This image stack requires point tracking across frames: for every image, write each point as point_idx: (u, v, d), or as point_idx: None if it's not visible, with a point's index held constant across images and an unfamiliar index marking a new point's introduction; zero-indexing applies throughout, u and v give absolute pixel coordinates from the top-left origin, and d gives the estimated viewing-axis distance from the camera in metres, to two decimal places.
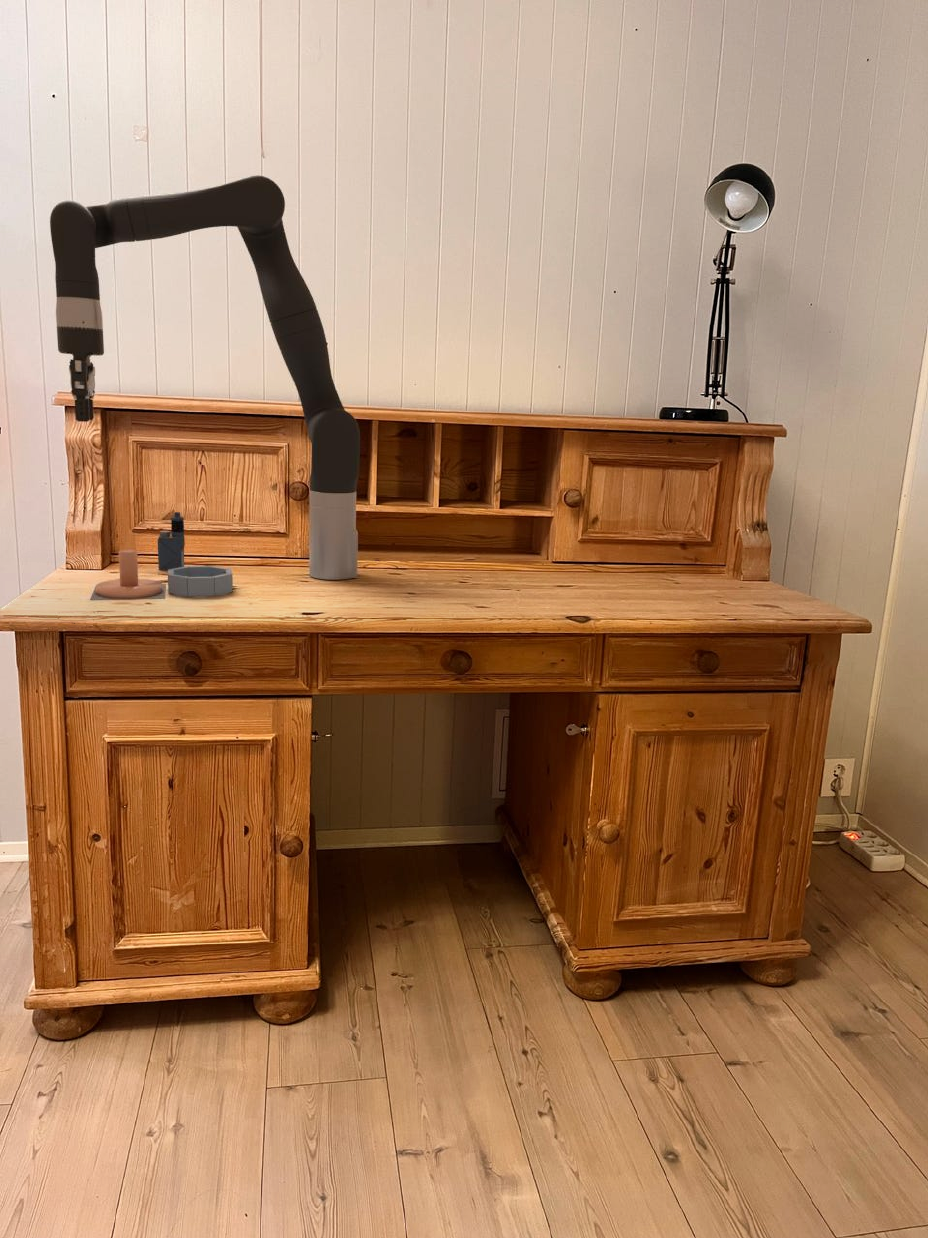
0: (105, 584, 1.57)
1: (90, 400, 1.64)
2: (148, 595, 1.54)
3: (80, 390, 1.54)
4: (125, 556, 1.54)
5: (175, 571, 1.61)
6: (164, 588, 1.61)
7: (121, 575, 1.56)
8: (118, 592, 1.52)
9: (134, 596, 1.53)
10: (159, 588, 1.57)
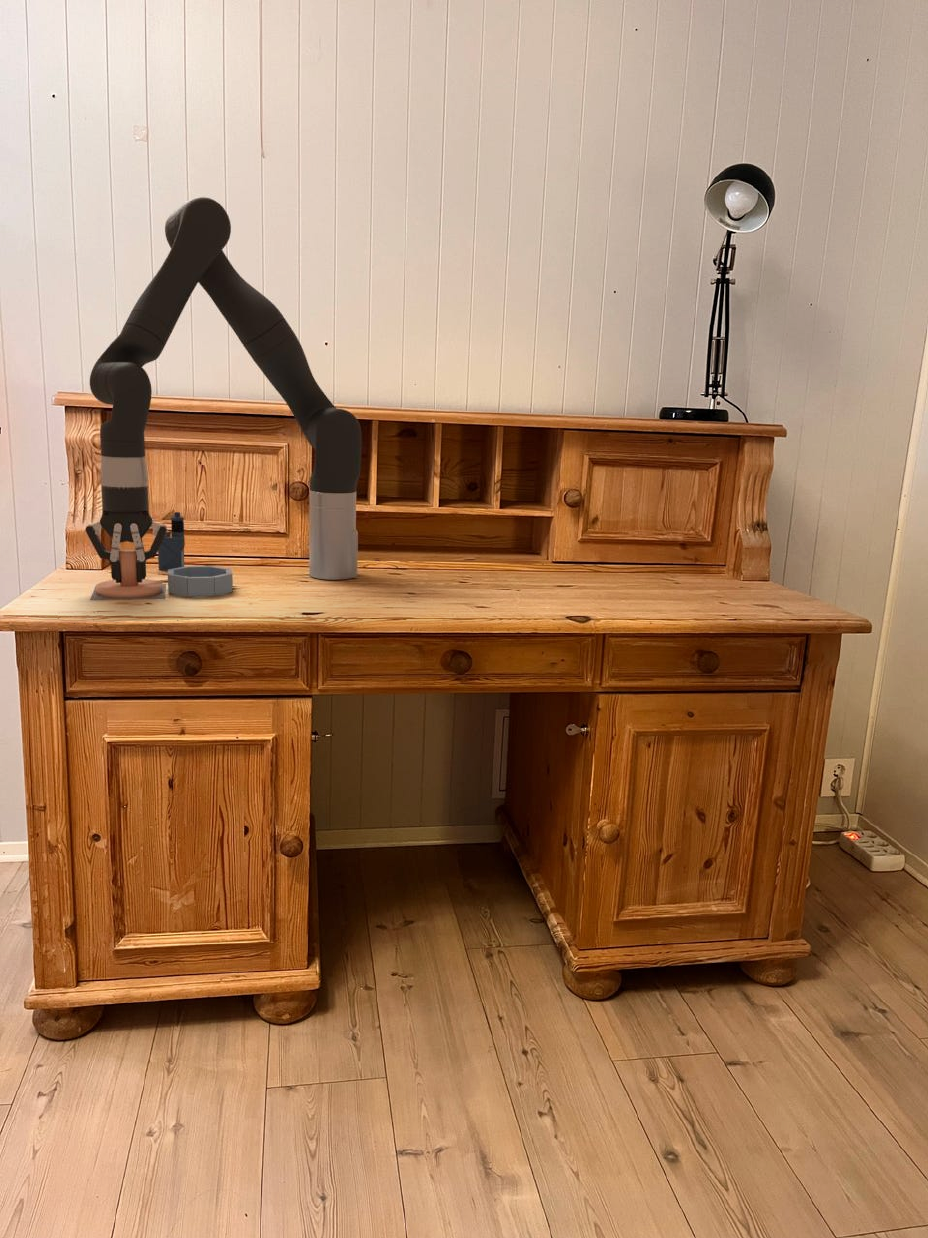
0: (105, 584, 1.57)
1: None
2: (148, 595, 1.54)
3: None
4: (125, 555, 1.54)
5: (175, 571, 1.61)
6: (164, 588, 1.61)
7: (121, 575, 1.56)
8: (118, 592, 1.52)
9: (134, 596, 1.53)
10: (159, 588, 1.57)
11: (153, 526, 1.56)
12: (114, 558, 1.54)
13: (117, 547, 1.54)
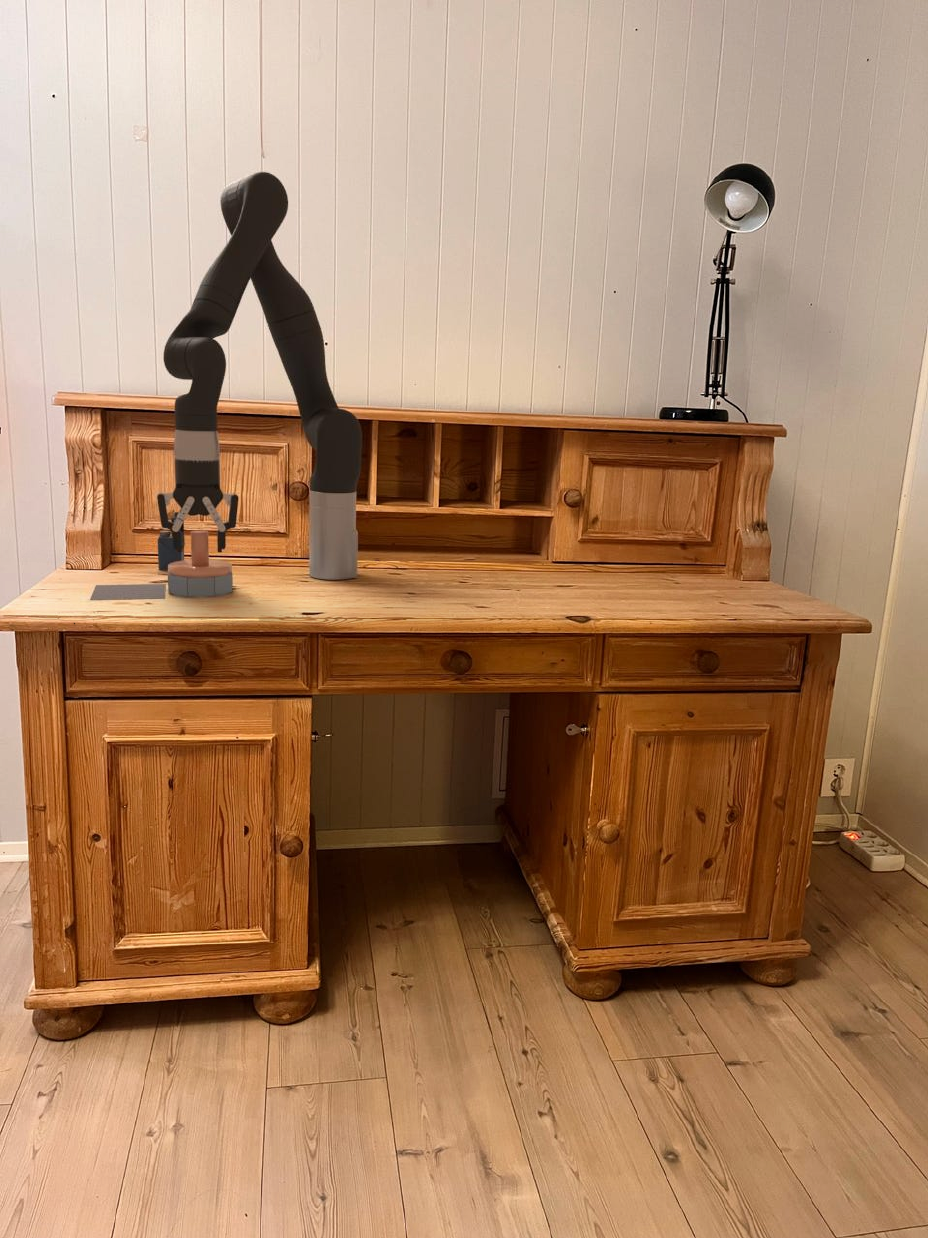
0: (177, 564, 1.59)
1: None
2: (220, 575, 1.57)
3: None
4: (197, 536, 1.57)
5: None
6: (164, 588, 1.61)
7: (193, 555, 1.58)
8: (191, 571, 1.55)
9: (207, 575, 1.56)
10: (230, 568, 1.60)
11: (225, 497, 1.58)
12: (176, 528, 1.56)
13: (183, 519, 1.56)
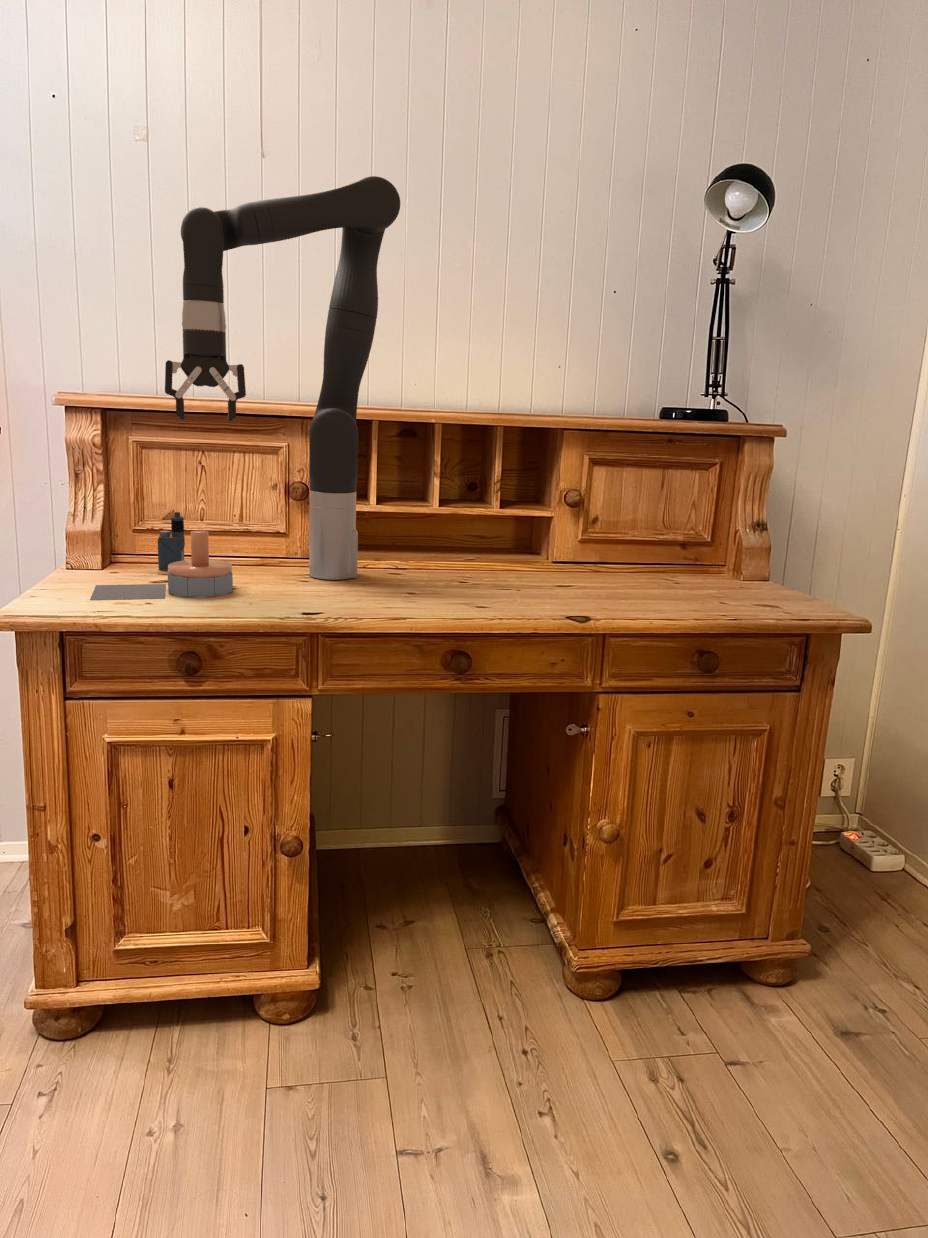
0: (177, 564, 1.59)
1: None
2: (220, 575, 1.57)
3: None
4: (197, 536, 1.57)
5: None
6: (164, 588, 1.61)
7: (193, 555, 1.58)
8: (191, 571, 1.55)
9: (207, 575, 1.56)
10: (230, 568, 1.60)
11: (231, 368, 1.64)
12: (179, 394, 1.62)
13: (187, 387, 1.62)
